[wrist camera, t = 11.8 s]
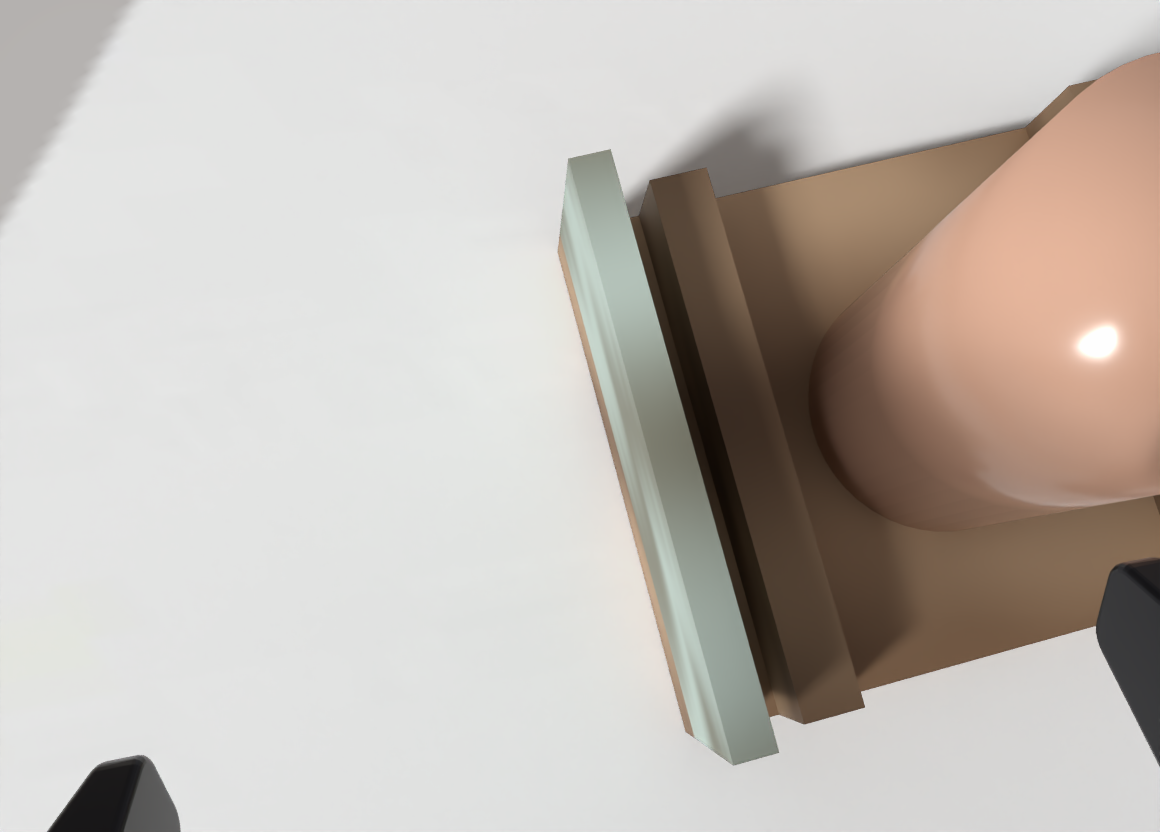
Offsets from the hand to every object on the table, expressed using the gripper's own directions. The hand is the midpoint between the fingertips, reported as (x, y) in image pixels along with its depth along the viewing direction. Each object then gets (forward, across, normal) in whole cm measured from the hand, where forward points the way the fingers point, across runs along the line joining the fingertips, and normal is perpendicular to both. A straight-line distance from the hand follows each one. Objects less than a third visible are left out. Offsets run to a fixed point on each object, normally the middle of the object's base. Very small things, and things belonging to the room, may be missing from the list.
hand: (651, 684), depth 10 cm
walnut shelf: (+12, -9, +7) cm, 16 cm away
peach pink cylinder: (+11, -9, +6) cm, 15 cm away
